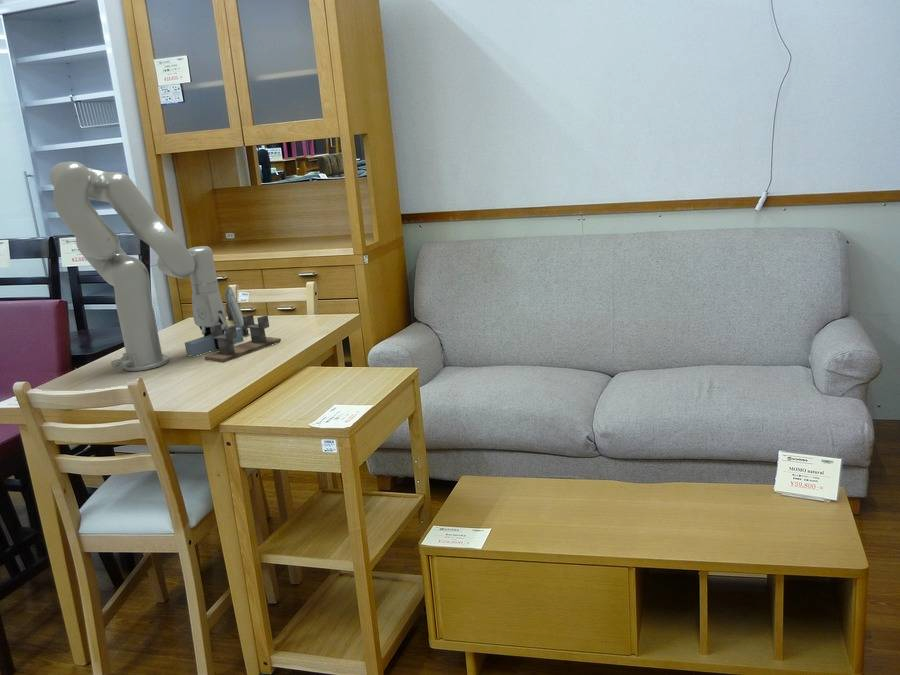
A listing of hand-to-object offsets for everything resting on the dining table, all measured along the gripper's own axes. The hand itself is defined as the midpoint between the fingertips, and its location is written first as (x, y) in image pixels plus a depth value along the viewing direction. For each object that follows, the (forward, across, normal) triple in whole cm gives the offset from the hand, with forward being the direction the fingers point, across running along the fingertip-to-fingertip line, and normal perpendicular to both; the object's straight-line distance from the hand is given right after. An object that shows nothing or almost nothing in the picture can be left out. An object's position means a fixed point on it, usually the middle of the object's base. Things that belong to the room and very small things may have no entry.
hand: (215, 346), depth 246 cm
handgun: (+1, -16, +21) cm, 26 cm away
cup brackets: (0, +12, +1) cm, 12 cm away
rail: (0, 0, 0) cm, 0 cm away
